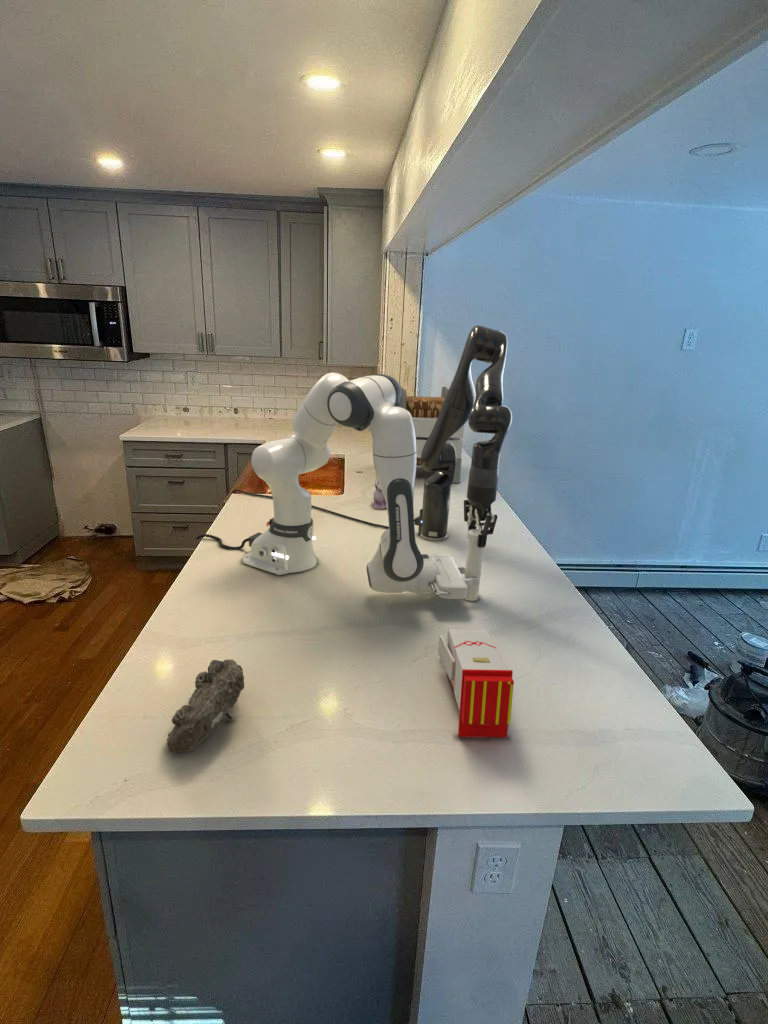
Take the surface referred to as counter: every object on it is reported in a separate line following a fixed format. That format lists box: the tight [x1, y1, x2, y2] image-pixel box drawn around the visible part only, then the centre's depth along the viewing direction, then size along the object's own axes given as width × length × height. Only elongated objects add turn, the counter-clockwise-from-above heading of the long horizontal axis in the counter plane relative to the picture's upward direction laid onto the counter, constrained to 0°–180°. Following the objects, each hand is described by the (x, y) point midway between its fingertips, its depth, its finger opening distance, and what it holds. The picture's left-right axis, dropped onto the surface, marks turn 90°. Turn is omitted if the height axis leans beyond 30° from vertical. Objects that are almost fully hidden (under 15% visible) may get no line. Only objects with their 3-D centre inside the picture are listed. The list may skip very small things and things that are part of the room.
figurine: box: [372, 478, 387, 510], centre depth 225 cm, size 9×10×15 cm
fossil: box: [166, 658, 245, 754], centre depth 106 cm, size 22×10×15 cm
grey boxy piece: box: [398, 385, 465, 484], centre depth 268 cm, size 34×33×41 cm
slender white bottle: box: [463, 539, 485, 602], centre depth 155 cm, size 4×4×19 cm
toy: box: [437, 628, 515, 738], centre depth 117 cm, size 12×13×30 cm
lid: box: [466, 528, 479, 542], centre depth 152 cm, size 5×5×2 cm
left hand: (475, 576), depth 156 cm, fingers closed on slender white bottle, 4 cm apart
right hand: (476, 542), depth 152 cm, fingers closed on lid, 5 cm apart
